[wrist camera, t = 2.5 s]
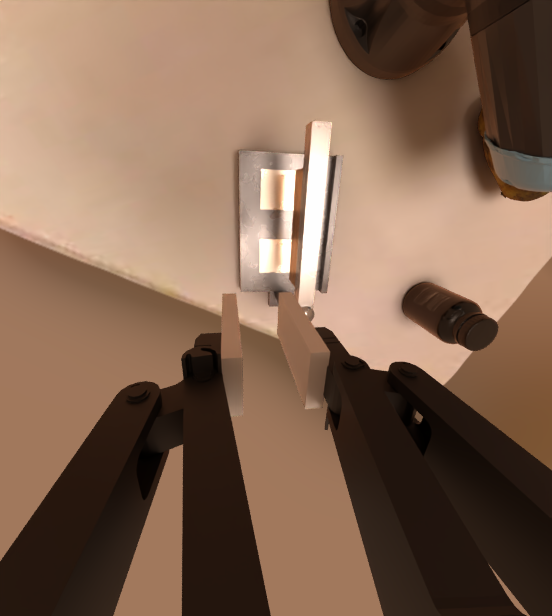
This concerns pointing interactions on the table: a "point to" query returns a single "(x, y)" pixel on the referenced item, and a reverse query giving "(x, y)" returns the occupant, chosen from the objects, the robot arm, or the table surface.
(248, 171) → the metal plate with cutouts
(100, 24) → the table surface
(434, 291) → the supplement bottle
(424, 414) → the robot arm
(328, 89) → the table surface
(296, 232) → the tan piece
